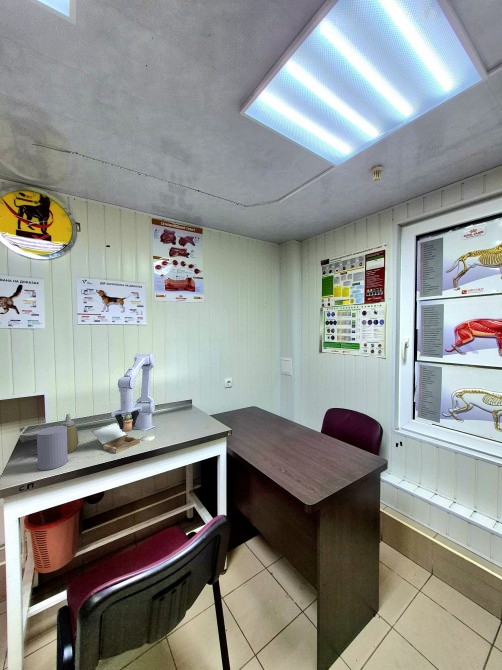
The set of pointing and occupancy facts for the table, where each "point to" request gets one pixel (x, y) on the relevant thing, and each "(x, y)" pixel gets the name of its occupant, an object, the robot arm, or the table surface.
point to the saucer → (148, 438)
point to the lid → (108, 433)
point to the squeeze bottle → (71, 434)
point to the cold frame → (120, 444)
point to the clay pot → (127, 423)
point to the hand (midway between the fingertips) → (127, 427)
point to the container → (52, 447)
